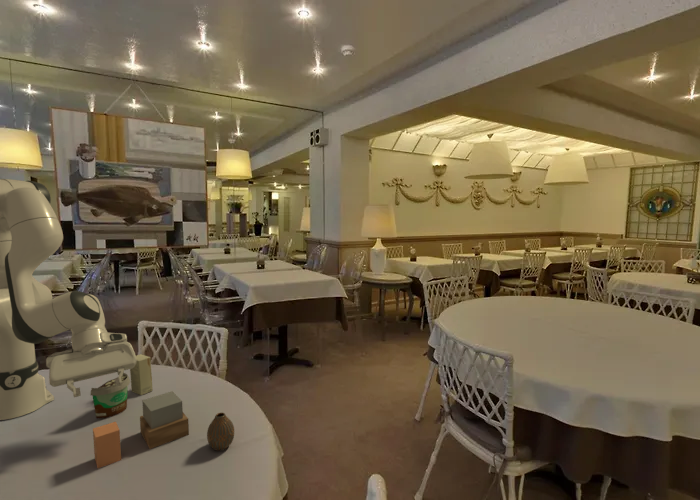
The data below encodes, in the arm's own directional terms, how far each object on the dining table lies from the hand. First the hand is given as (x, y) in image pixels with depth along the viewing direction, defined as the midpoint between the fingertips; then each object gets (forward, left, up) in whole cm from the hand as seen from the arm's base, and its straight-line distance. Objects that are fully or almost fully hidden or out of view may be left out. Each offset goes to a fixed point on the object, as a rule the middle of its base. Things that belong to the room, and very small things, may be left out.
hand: (98, 390), depth 103 cm
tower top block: (+8, +14, -9) cm, 18 cm away
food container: (-14, +6, -14) cm, 21 cm away
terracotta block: (+11, 0, -14) cm, 18 cm away
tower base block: (+8, +14, -14) cm, 22 cm away
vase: (+24, +24, -14) cm, 37 cm away
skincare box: (-24, +15, -14) cm, 31 cm away
